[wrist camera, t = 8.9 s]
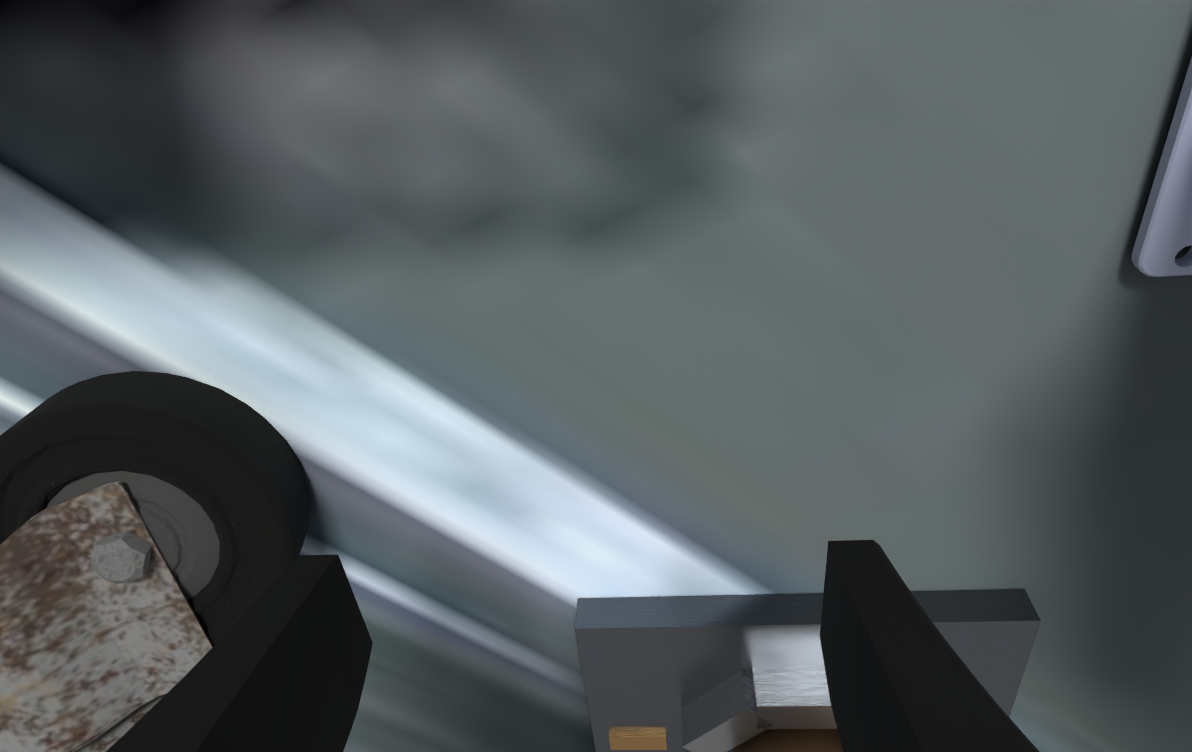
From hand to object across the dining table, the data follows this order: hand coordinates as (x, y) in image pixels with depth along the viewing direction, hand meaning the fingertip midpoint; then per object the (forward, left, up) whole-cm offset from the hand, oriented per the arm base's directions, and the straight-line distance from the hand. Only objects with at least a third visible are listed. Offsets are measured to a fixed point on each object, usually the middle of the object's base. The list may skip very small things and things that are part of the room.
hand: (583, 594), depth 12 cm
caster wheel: (+15, +6, -10) cm, 19 cm away
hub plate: (-5, +17, -9) cm, 20 cm away
